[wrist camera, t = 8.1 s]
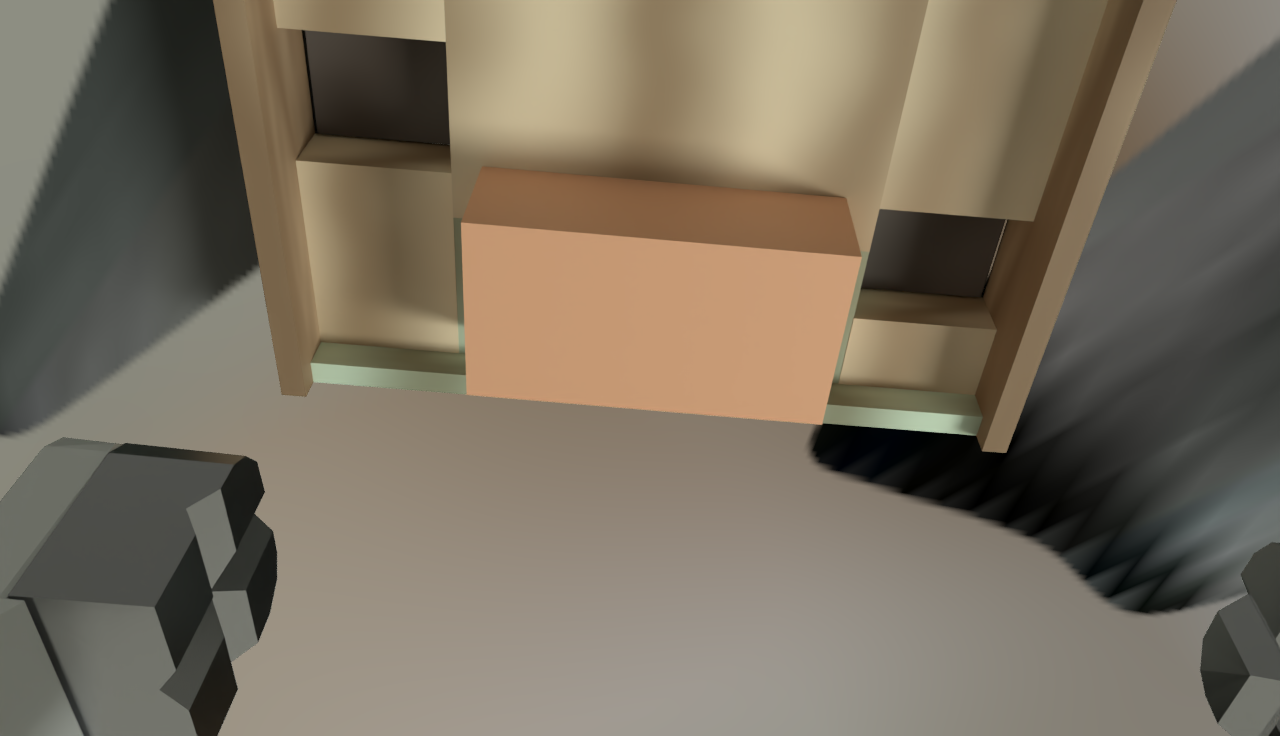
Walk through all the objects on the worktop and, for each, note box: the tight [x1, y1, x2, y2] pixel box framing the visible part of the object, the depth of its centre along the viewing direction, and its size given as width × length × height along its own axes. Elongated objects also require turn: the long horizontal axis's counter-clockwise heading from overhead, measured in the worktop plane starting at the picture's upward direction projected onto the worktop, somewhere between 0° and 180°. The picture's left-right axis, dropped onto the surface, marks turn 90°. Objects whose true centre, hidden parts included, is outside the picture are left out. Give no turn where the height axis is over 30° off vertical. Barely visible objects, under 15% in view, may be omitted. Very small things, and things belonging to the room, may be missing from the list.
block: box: [461, 166, 862, 425], centre depth 31 cm, size 11×6×4 cm, turn 86°
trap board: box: [213, 0, 1177, 453], centre depth 31 cm, size 24×15×4 cm, turn 86°
